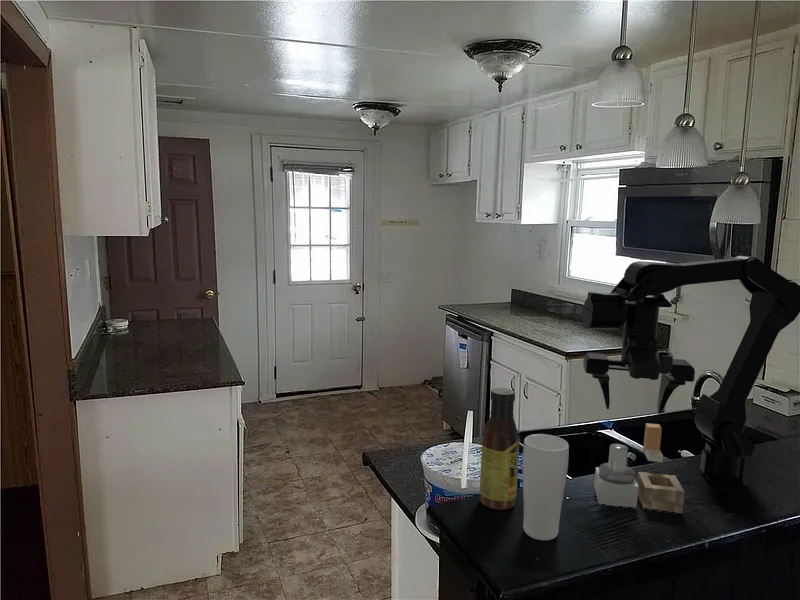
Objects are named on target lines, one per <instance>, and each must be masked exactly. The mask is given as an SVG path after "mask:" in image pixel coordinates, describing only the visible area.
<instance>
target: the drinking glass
mask: <svg viewBox="0 0 800 600" xmlns="http://www.w3.org/2000/svg"><path fill="white" fill-rule="evenodd" d="M569 446H570V445H569V443H568V441H566V440H565V439H563V438H561V437H559V436H557V435H551V434H545V433H537V434H530V435H527V436H526V437H525V438H524V439H523V449H522V464H521V465H522V469H521V470H522V492H523V493H522V497H523V499H522V500H523V501H522V502H523V523H522V527H523V532H525V534H526V535H527V536H528V537H530V538H532V539H534V540H537V541H546V542H547V541H551V540H552V541H553V540H554V539H556V537H557V536H558V534H559V529H560V528H559V527H560V520H561V519H560V518H561V512H562V505H563V499H564V494H565V489H566V488H565V487H566V480H567V477H568V476H567V475H568V468H569V454H570V453H569V449H570V447H569Z"/></svg>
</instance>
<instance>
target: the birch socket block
mask: <svg viewBox="0 0 800 600" xmlns="http://www.w3.org/2000/svg"><path fill="white" fill-rule="evenodd" d="M636 480H637V481H636V482H637V485H638V496H637V498H638V497H639V498H638V500H639V499H640V500H639V502H641V503H640V505H641V504H642V505H641V507H642V506H643V508H648V509H659V510H665V511H669V512H676V513H675V514H677V513H682V514H683V511H684V500H685V489H683V486H682V485H681V483H680V481H679V479H678V478H677V476H676V475H672V474H666V473H665V474H664V473H663V474H662V473H654V472H645V471H638V472H637V479H636ZM643 508H642V509H643ZM669 512H668V513H669Z"/></svg>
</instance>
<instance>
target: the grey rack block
mask: <svg viewBox="0 0 800 600" xmlns="http://www.w3.org/2000/svg"><path fill="white" fill-rule="evenodd" d="M594 475H595V476H594V485H593V486H594V487H593V489H594V488H595V489H594V492H596V493H595V497H596V496H597V497H596V500H597V499H598V501H597V504H598V503H599V504H598V505H602V504H605V505H604V506H611V505H612V507H619V506H623V507H622V508H627V507H634V508H633V509H636V508H637V506H638V485H637V481H636V480H637V479H635V481H634V482H633V483H631V484H626V485H622V484H614V483H611V482H608V481H605V480H604V479H602V478H601V477H600V476H599V466H597V467H595V473H594ZM624 506H625V507H624ZM635 507H636V508H635Z"/></svg>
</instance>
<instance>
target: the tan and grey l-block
mask: <svg viewBox="0 0 800 600" xmlns="http://www.w3.org/2000/svg"><path fill="white" fill-rule="evenodd" d="M644 426H645V427H644V437H643V438H644V439H643V448H642V451H643V453H644V456H645V457H646V460H647V461H649V462H658V463H663V460H664V459H663V458H664V455H663V454H662V451H661V440H662V431H663V430H662V429H663V428H662V426H661V425H660V424H658V423H647V422H646V423H645V425H644Z"/></svg>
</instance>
